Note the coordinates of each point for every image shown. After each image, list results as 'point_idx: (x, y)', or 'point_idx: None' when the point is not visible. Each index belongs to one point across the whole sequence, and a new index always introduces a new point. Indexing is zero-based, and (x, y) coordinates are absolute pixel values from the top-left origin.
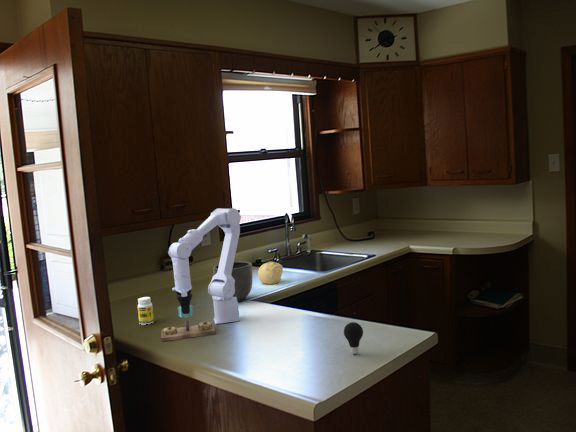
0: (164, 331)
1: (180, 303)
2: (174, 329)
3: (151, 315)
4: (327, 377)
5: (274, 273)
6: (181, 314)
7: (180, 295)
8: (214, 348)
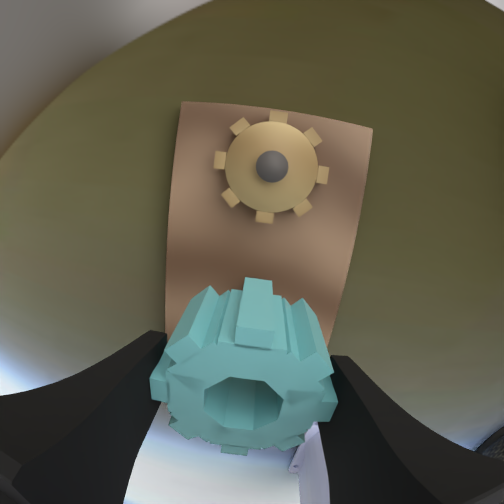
0: (235, 123)
1: (48, 389)
2: (230, 200)
3: None
4: None
5: None
6: (183, 313)
7: (4, 491)
8: (17, 319)
